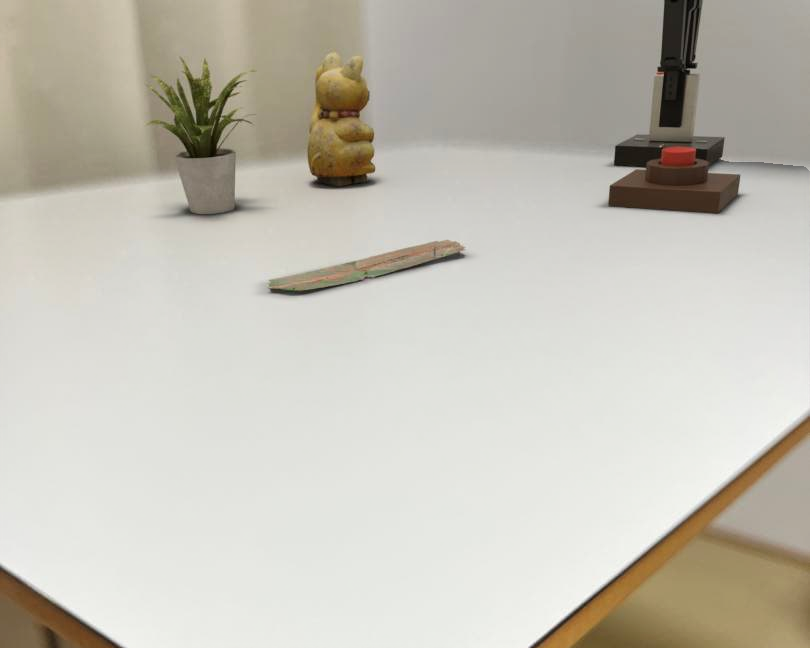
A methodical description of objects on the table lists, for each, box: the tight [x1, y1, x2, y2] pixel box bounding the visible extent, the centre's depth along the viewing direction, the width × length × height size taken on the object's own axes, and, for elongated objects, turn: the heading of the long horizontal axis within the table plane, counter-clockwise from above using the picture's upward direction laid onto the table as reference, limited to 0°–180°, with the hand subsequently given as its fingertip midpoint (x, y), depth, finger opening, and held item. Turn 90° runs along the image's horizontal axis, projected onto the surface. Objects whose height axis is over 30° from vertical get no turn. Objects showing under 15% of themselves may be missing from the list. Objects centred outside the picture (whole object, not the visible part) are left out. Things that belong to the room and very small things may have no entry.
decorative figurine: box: [306, 51, 376, 187], centre depth 118 cm, size 10×8×15 cm
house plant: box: [144, 56, 256, 215], centre depth 106 cm, size 14×14×16 cm
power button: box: [661, 147, 696, 166], centre depth 103 cm, size 4×4×2 cm
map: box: [267, 239, 466, 292], centre depth 85 cm, size 5×20×1 cm, turn 126°
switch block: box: [607, 159, 741, 214], centre depth 105 cm, size 12×10×4 cm
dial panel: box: [613, 133, 726, 168], centre depth 126 cm, size 12×10×3 cm
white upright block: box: [648, 71, 701, 142], centre depth 123 cm, size 6×2×8 cm, turn 63°
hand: (671, 125), depth 124 cm, fingers closed on white upright block, 2 cm apart
